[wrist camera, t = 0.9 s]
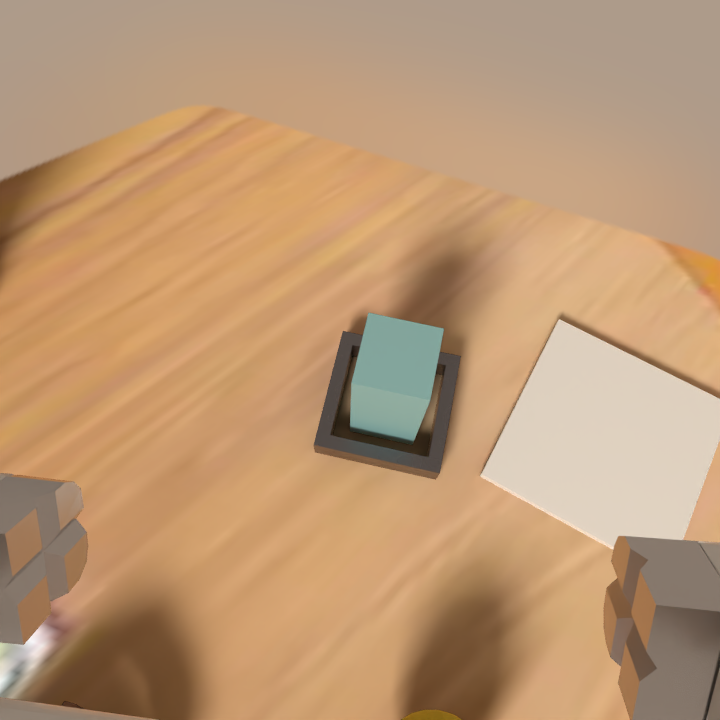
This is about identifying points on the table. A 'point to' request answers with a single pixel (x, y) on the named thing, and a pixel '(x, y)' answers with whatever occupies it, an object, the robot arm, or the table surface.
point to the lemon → (431, 715)
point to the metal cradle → (379, 454)
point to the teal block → (393, 378)
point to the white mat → (606, 441)
